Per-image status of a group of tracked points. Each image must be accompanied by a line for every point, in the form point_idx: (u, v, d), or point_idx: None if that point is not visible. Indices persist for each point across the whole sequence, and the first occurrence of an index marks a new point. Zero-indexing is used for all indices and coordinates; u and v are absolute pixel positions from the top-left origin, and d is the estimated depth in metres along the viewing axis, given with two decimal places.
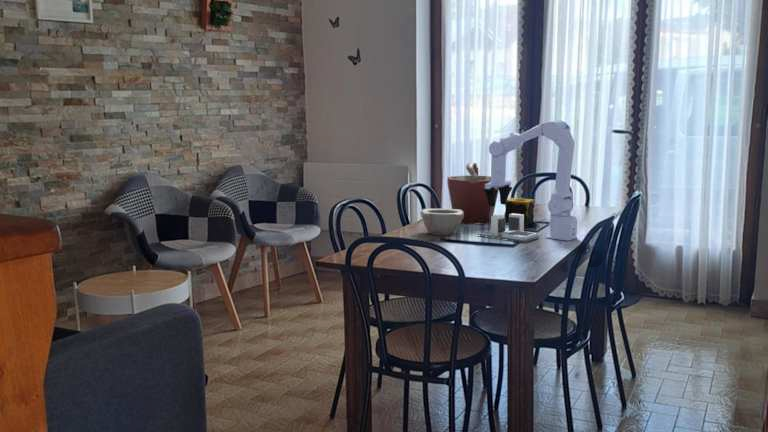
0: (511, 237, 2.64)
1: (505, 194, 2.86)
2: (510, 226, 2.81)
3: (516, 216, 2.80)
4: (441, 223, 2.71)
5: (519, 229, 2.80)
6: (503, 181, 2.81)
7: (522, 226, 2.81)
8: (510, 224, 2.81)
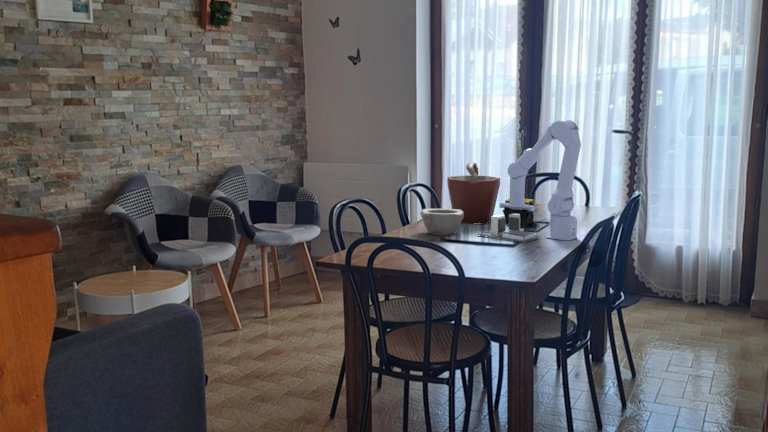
0: (511, 237, 2.64)
1: None
2: (510, 226, 2.81)
3: (516, 216, 2.80)
4: (441, 223, 2.71)
5: (519, 229, 2.80)
6: (512, 203, 2.78)
7: None
8: (510, 224, 2.81)
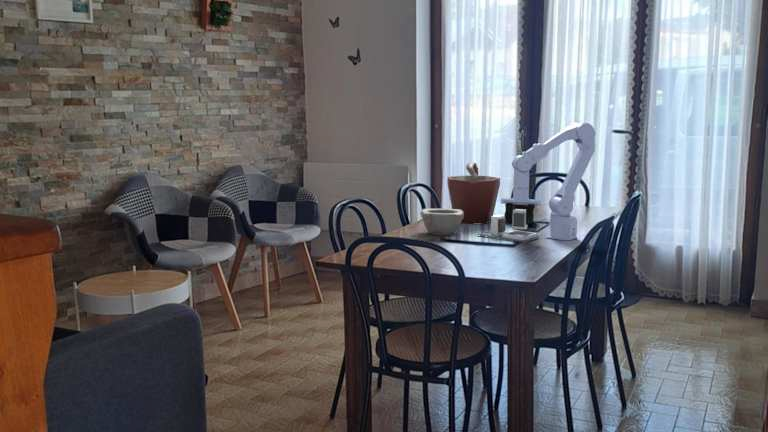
0: (511, 237, 2.64)
1: None
2: (515, 222, 2.66)
3: (521, 212, 2.65)
4: (441, 223, 2.71)
5: (525, 225, 2.65)
6: (518, 198, 2.63)
7: None
8: (515, 220, 2.65)
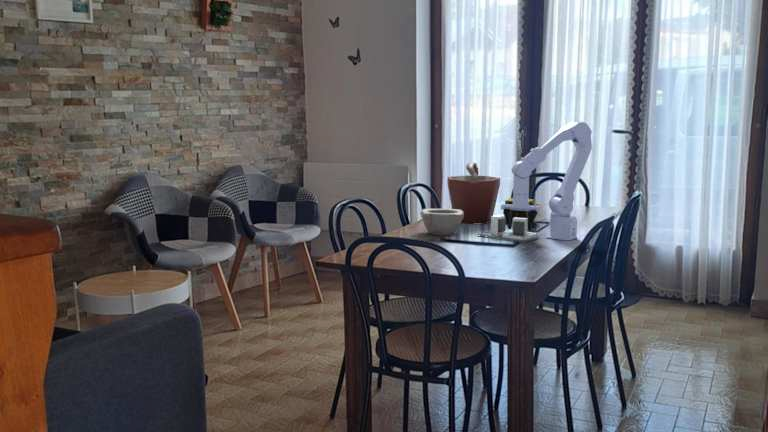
0: (511, 237, 2.64)
1: None
2: (515, 231, 2.66)
3: (521, 220, 2.65)
4: (441, 223, 2.71)
5: (524, 234, 2.66)
6: (518, 204, 2.64)
7: (526, 231, 2.67)
8: (515, 229, 2.66)
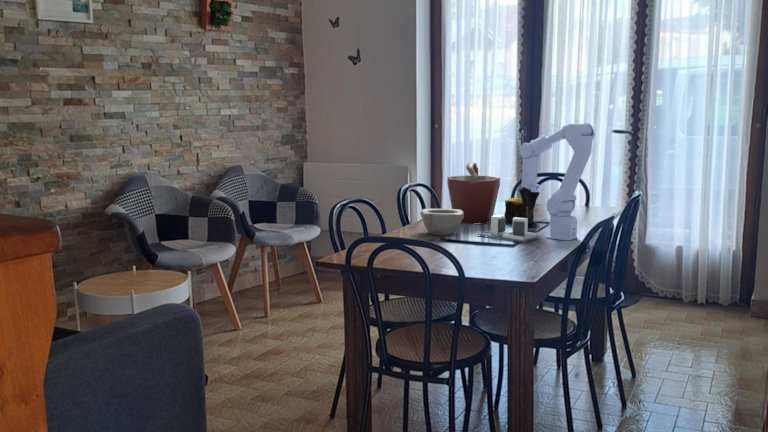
0: (511, 237, 2.64)
1: None
2: (515, 231, 2.66)
3: (521, 220, 2.65)
4: (441, 223, 2.71)
5: (524, 234, 2.66)
6: (522, 183, 2.80)
7: (526, 231, 2.67)
8: (515, 229, 2.66)
